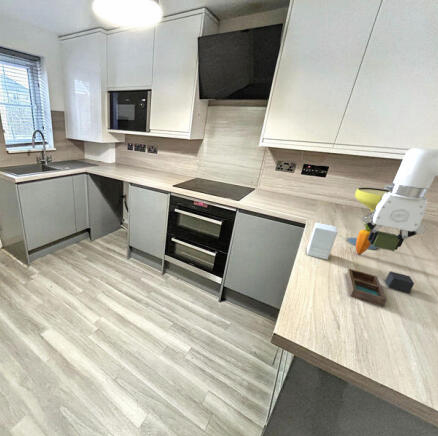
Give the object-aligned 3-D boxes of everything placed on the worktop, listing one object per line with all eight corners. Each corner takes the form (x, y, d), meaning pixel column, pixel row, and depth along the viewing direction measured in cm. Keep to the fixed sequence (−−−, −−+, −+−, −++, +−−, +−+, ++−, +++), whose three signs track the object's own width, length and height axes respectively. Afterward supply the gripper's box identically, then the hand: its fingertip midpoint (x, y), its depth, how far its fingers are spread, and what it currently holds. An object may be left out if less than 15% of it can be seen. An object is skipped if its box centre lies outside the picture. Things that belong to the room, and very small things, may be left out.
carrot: (349, 254, 101) (363, 222, 95) (352, 250, 104) (365, 219, 99) (364, 258, 98) (379, 225, 92) (366, 255, 101) (381, 223, 95)
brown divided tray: (374, 282, 82) (377, 276, 81) (383, 306, 71) (386, 299, 70) (346, 274, 86) (348, 268, 85) (350, 296, 75) (353, 289, 74)
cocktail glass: (394, 248, 108) (420, 195, 99) (378, 257, 99) (405, 200, 90) (348, 232, 122) (367, 186, 113) (331, 239, 114) (349, 189, 105)
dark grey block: (404, 285, 81) (409, 276, 80) (408, 293, 77) (414, 283, 76) (385, 280, 84) (389, 271, 82) (388, 287, 80) (393, 277, 78)
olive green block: (390, 245, 78) (395, 234, 76) (394, 251, 74) (399, 239, 72) (370, 240, 80) (375, 230, 79) (373, 246, 76) (378, 235, 75)
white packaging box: (326, 253, 101) (336, 226, 96) (327, 260, 95) (338, 232, 91) (306, 247, 105) (315, 221, 100) (306, 254, 99) (315, 227, 94)
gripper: (372, 188, 71) (350, 241, 78) (455, 200, 63) (423, 258, 70) (368, 184, 77) (348, 234, 84) (444, 194, 69) (415, 248, 75)
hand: (382, 244), depth 77 cm, fingers closed on olive green block, 5 cm apart
